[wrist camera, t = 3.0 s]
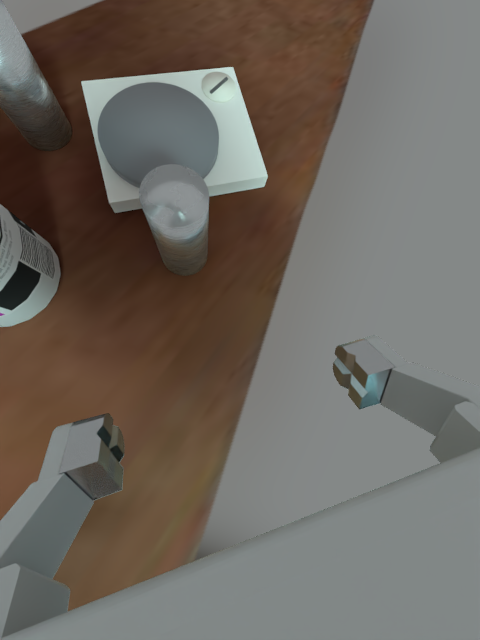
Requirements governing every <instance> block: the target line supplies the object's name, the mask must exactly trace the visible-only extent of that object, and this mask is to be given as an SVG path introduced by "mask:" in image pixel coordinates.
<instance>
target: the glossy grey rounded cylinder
mask: <svg viewBox="0 0 480 640" xmlns="http://www.w3.org/2000/svg"><path fill="white" fill-rule="evenodd" d="M139 199H140V203H141V206H142V208H143V211H144V214H145V216H146V219H147V221H148V224H149V226H150V229H151V231H152V234H153V237H154V239H155V242H156V244H157V247H158V249H159V252H160V255H161V257H162V260H163V262H164V264H165V266H166V267H167V268H168V269H169V270H170V271H172V272H173V273H175V274H178V275H183V276H187V275H192V274H195V273H197V272H199V271H200V270H201V269H202V268H203V267H204V265H205V263H206V261H207V256H208V220H209V191H208V188H207V185H206V183H205V181H204V180H203V178H202V177H201V176H200V175H199V174H198V173H197V172H195V171H194V170H192V169H190V168H188V167H186V166H182V165H177V164H168V165H162V166H159V167H157V168H155V169H153V170H152V171H150V172H149V173H148V174H147V175H146V176H145V177H144V179H143V180H142V182H141V185H140V188H139Z"/></svg>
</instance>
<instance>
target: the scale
mask: <svg viewBox="0 0 480 640" xmlns="http://www.w3.org/2000/svg"><path fill="white" fill-rule="evenodd" d="M81 83H82V88H83V92H84V96H85V101H86V105H87V109H88V114H89V118H90V122H91V127H92V131H93V136H94V140H95V144H96V149H97V153H98V157H99V162H100V166H101V170H102V175H103V179H104V183H105V188H106V192H107V196H108V201H109V204H110V206H111V207H112V209H113V211H114V213H119V212H125V211H130V210H136V209H142V206H141V203H140V199H139V188H140V185H141V182H142V180H143V179H144V177H145V176H146V175H147V174H148V173H149V172H150V171H152V170H153V169H155V168H157V167H159V166H162V165H168V164H177V165H182V166H186V167H188V168H190V169H192V170H194V171H195V172H197V173H198V174H199V175H200V176H201V177H202V178H203V180H204V181H205V183H206V185H207V188H208V191H209V197H210V196H216V195H221V194H227V193H233V192H238V191H244V190H250V189H255V188H261V187H265V184H266V181H267V178H268V175H267V172H266V169H265V166H264V162H263V159H262V156H261V153H260V150H259V147H258V144H257V141H256V137H255V134H254V131H253V128H252V125H251V122H250V119H249V116H248V112H247V109H246V106H245V103H244V100H243V97H242V94H241V91H240V87H239V84H238V81H237V78H236V75H235V72H234V69H233V67H226V68H215V69H205V70H195V71H184V72H174V73H163V74H153V75H142V76H132V77H122V78H111V79H101V80H90V81H81Z"/></svg>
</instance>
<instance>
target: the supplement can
mask: <svg viewBox="0 0 480 640" xmlns="http://www.w3.org/2000/svg"><path fill="white" fill-rule="evenodd" d="M60 275H61V272H60V266H59V260H58V256H57V255H56V253H55V252H54V250H53V248H52V247H51V245H50V244H49V243H48V242H47V241H46V240H45V239H43V238H42V237H41V236H40V235H38V234H37V233H36V232H35V231H33V230H32V229H31V228H30V227H28V226H27V225H26V224H25V223H23V222H22V221H21V220H20V219H18V218H17V217H16V216H15V215H13V214H12V213H11V212H10V211H8V210H7V209H6V208H5V207H3V206H2V205H1V204H0V327H8V326H13V325H16V324H18V323H21V322H24V321H27V320H29V319H31V318H32V317H34V316H35V315H36V314H38V313H39V312H40V311H41V310H43V309H44V308H45V307H46V306H47V305H48V303H49V302H50V300H51V299H52V298H53V296H54V295H55V293H56V292H57V288H58V284H59V279H60Z"/></svg>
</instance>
